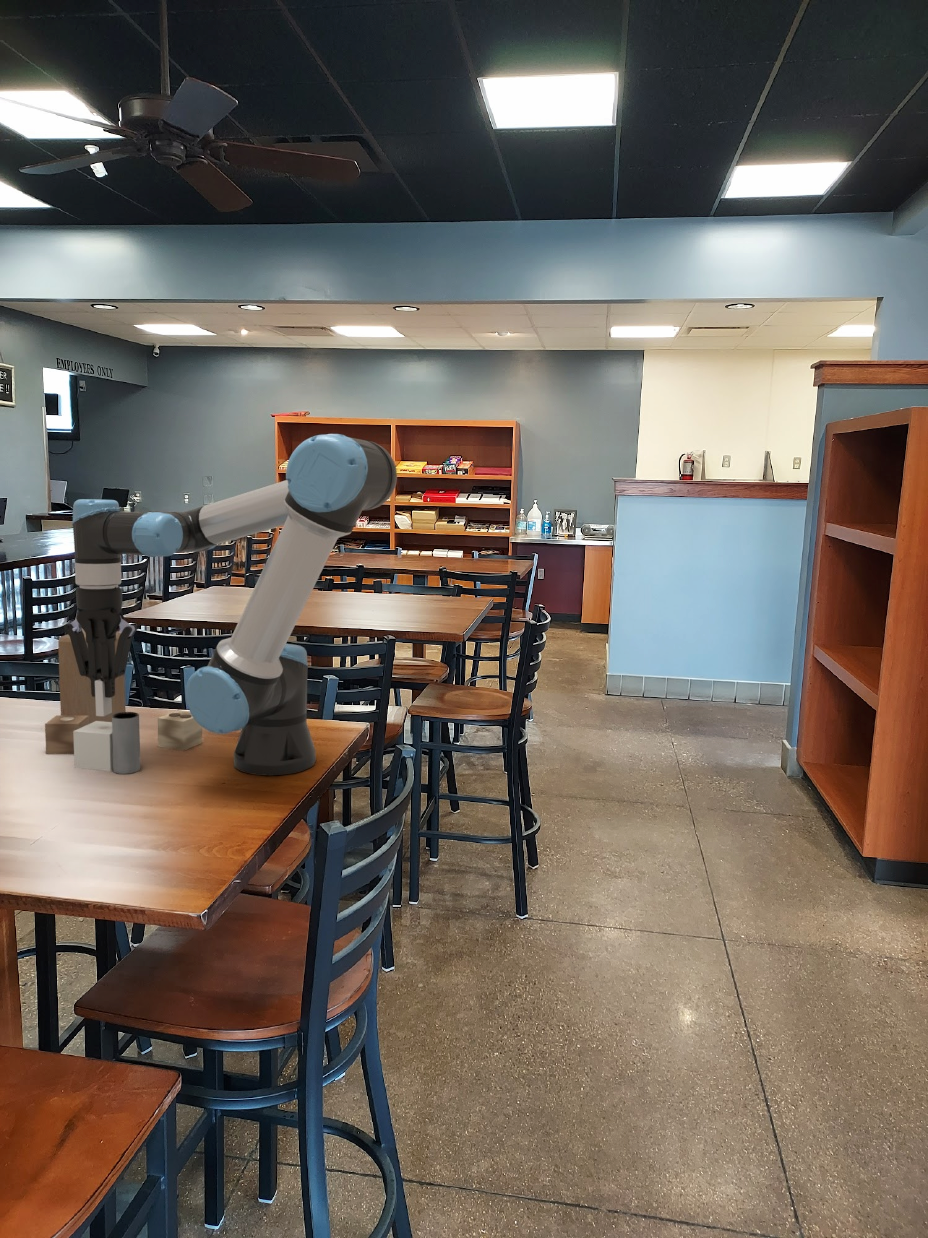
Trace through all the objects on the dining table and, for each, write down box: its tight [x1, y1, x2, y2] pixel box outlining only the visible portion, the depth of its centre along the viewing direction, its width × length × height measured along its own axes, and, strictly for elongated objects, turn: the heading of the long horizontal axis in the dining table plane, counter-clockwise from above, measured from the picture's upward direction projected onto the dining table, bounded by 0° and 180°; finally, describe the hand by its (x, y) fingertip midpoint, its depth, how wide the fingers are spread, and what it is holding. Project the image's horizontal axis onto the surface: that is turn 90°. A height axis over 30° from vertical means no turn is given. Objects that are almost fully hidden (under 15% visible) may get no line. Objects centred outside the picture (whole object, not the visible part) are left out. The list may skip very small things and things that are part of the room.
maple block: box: [157, 710, 203, 752], centre depth 163 cm, size 6×6×6 cm
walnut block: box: [44, 714, 89, 755], centre depth 157 cm, size 6×6×6 cm
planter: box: [112, 711, 141, 775], centre depth 146 cm, size 4×4×10 cm
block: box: [57, 629, 127, 724], centre depth 172 cm, size 10×10×20 cm
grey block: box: [73, 721, 113, 772], centre depth 150 cm, size 7×7×7 cm
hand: (104, 714), depth 149 cm, fingers closed
